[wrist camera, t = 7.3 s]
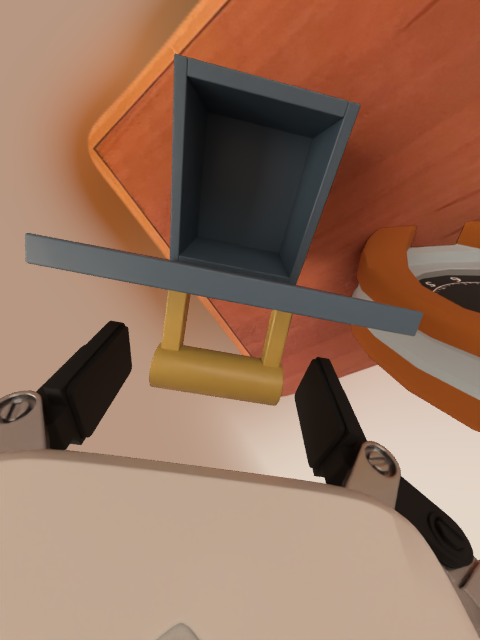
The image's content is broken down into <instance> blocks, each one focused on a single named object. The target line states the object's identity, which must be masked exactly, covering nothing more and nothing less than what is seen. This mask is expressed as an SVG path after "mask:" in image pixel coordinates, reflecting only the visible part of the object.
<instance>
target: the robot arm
mask: <svg viewBox="0 0 480 640" xmlns="http://www.w3.org/2000/svg"><path fill="white" fill-rule="evenodd" d="M131 369H132V362H131V352H130V342H129V332H128V327H126V326H125V324H124V323H121V322H115V321H109V322H108V323H107V324H106V325H105V326H104V327H103V328H102V329H101V330H100V331H99V332H98V333H97V334H96V335H95V336H94V337H93V338H92V339H91V340H90V341H89V342H88V343H87V344H86V345H84V346H82V347H81V348H80V349H79V350H78V351H77V352H76V353H75V354H74V355H73V356H72V357H71V358H70V359H69V360H68V361H67V362H66V363H65V364H64V365H63V366H62V367H61V368H60V369H59V370H58V371H57V372H56V373H55V374H54V375H53V376H52V377H51V378H50V379H49V380H48V381H47V382H46V383H45V384H44V385H43V386H42V387H41V388H39V389H38V391H37V392H34V391H19V392H15V393H12V394H9V395H6V396H4V397H2V398H1V399H0V640H480V560H477V559H476V558H475V557H474V556H473V550H472V547H471V545H470V543H469V540H468V539H467V537H466V536H465V534H464V532H463V531H462V530H461V528H460V527H459V526H458V525H457V524H456V523H455V522H454V521H453V520H452V519H451V518H450V517H449V516H448V515H447V514H446V513H445V512H443V511H442V510H441V509H440V508H439V507H437V506H436V505H435V504H434V503H433V502H431V501H430V500H429V499H428V498H426V497H425V496H424V495H423V494H422V493H421V492H419V491H418V490H417V489H416V488H415V487H413V486H412V485H411V484H410V483H408V482H407V481H406V480H405V479H404V478H403V477H401V472H400V471H401V470H400V467H399V464H398V462H397V461H396V459H395V457H394V456H393V455H392V454H391V453H390V452H389V451H388V450H387V449H386V448H385V447H383V446H382V445H380V444H378V443H376V442H372V441H367V440H366V438H365V435H364V433H363V431H362V429H361V427H360V425H359V422H358V420H357V418H356V416H355V414H354V411H353V409H352V407H351V405H350V403H349V401H348V398H347V396H346V394H345V392H344V390H343V388H342V386H341V384H340V382H339V379H338V377H337V375H336V373H335V371H334V368H333V366H332V364H331V362H330V360H329V359H326V358H320V357H317V358H316V359H313V360H312V361H311V363H310V365H309V367H308V369H307V371H306V373H305V375H304V377H303V379H302V381H301V383H300V385H299V387H298V389H297V391H296V393H295V402H296V407H297V412H298V416H299V421H300V426H301V430H302V435H303V440H304V445H305V449H306V454H307V459H308V463H309V466H310V467H311V468H313V473H314V476H319V477H325V480H326V484H323V483H316V482H310V481H304V480H297V479H291V478H283V477H276V476H269V475H261V474H254V473H247V472H239V471H231V470H224V469H216V468H209V467H201V466H193V465H185V464H178V463H170V462H162V461H154V460H146V459H137V458H130V457H122V456H114V455H106V454H97V453H86V452H78V451H69V450H66V449H67V447H68V446H69V444H77V445H81V444H82V443H83V441H84V440H85V438H86V437H90V436H91V435H92V433H93V432H94V430H95V429H96V427H97V425H98V424H99V422H100V421H101V419H102V417H103V416H104V414H105V413H106V411H107V409H108V408H109V406H110V405H111V403H112V401H113V400H114V398H115V396H116V395H117V393H118V392H119V390H120V388H121V387H122V385H123V383H124V382H125V380H126V379H127V377H128V376H129V374H130V372H131Z"/></svg>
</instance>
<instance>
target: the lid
mask: <svg viewBox="0 0 480 640" xmlns="http://www.w3.org/2000/svg"><path fill="white" fill-rule="evenodd" d="M25 251H26V262H27V263H30V264H36V265H40V266H45V267H51V268H56V269H61V270H66V271H72V272H77V273H82V274H87V275H93V276H98V277H103V278H108V279H114V280H119V281H124V282H129V283H135V284H140V285H146V286H151V287H156V288H161V289H166V290H168V298H167V306H166V314H165V322H164V330H163V337H162V342H161V343H160V344H159V346H158V347H157V349H156V351H155V354H154V357H153V360H152V363H151V368H150V375H149V382H150V386H152V387H158V388H164V389H170V390H176V391H183V392H190V393H197V394H202V395H209V396H215V397H222V398H228V399H234V400H241V401H248V402H253V403H260V404H267V405H277V403H278V402H279V399H280V397H281V393H282V388H283V368H282V364H281V363H280V362H281V358H282V354H283V350H284V346H285V342H286V338H287V334H288V330H289V326H290V322H291V318H292V314H298V315H303V316H308V317H314V318H319V319H324V320H330V321H335V322H340V323H345V324H351V325H356V326H361V327H366V328H372V329H377V330H382V331H387V332H393V333H398V334H403V335H409V336H415V335H416V332H417V329H418V327H419V324H420V322H421V319H422V316H423V312H421V311H416V310H411V309H407V308H402V307H397V306H392V305H388V304H383V303H378V302H373V301H369V300H364V299H359V298H355V297H350V296H345V295H340V294H336V293H331V292H326V291H322V290H317V289H312V288H307V287H303V286H298V285H293V284H288V283H283V282H278V281H273V280H268V279H263V278H258V277H253V276H248V275H243V274H238V273H233V272H228V271H223V270H218V269H213V268H208V267H203V266H198V265H193V264H188V263H183V262H178V261H173V260H168V259H163V258H158V257H152V256H147V255H142V254H136V253H131V252H126V251H120V250H115V249H110V248H104V247H99V246H94V245H89V244H83V243H78V242H72V241H67V240H62V239H57V238H52V237H46V236H41V235H36V234H30V233H26V235H25ZM190 294H193V295H198V296H203V297H208V298H214V299H219V300H224V301H230V302H235V303H240V304H245V305H251V306H256V307H261V308H266V309H272V312H271V316H270V321H269V325H268V329H267V334H266V338H265V342H264V347H263V351H262V355H261V359H260V358H255V357H249V356H243V355H237V354H231V353H225V352H220V351H213V350H208V349H202V348H196V347H190V346H185V345H183V341H184V334H185V327H186V321H187V314H188V307H189V300H190Z"/></svg>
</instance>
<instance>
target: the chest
mask: <svg viewBox="0 0 480 640" xmlns="http://www.w3.org/2000/svg"><path fill="white" fill-rule="evenodd" d="M359 109H360V104H358V103H354V102H349V101H347V100H343V99H340V98H336V97H332V96H329V95H325V94H321V93H318V92H314V91H310V90H307V89H303V88H299V87H296V86H292V85H288V84H285V83H281V82H277V81H274V80H270V79H266V78H263V77H259V76H255V75H251V74H248V73H244V72H240V71H237V70H233V69H229V68H226V67H222V66H218V65H215V64H211V63H207V62H204V61H200V60H196V59H193V58H187V57H185V56H181V55H178V54H175V55H174V95H173V140H172V185H171V231H170V260H173V261H178V262H183V263H188V264H193V265H198V266H203V267H208V268H213V269H218V270H223V271H228V272H233V273H238V274H243V275H248V276H253V277H258V278H263V279H268V280H273V281H278V282H283V283H288V284H293V285H296V283H297V280H298V278H299V275H300V272H301V269H302V267H303V264H304V261H305V258H306V255H307V253H308V250H309V247H310V244H311V242H312V239H313V236H314V233H315V231H316V228H317V225H318V222H319V219H320V217H321V214H322V211H323V208H324V206H325V203H326V200H327V197H328V195H329V192H330V189H331V186H332V184H333V181H334V178H335V175H336V172H337V170H338V167H339V164H340V161H341V159H342V156H343V153H344V150H345V148H346V145H347V142H348V139H349V136H350V134H351V131H352V128H353V125H354V123H355V120H356V117H357V114H358V112H359Z"/></svg>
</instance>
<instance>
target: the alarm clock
mask: <svg viewBox="0 0 480 640" xmlns="http://www.w3.org/2000/svg"><path fill="white" fill-rule="evenodd" d="M416 229H417V226H416V225H412V226H398V227H384V228H381V229H379V230H377V231H376V232H375V233H374V234H373V235H372V236H371V237H370V238H369V239H368V240H367V242H366V243H365V246H364V248H363V251H362V253H361V257H360V261H359V266H358V270H357V275H356V277H357V280H358V282H359V284H358V287H357V288H356V289H355V291H354V293H353V295H352V297H355V298H359V299H364V300H369V301H373V302H378V303H383V304H388V305H392V306H397V307H402V308H407V309H411V310H416V311H421V312H423V316H422V319H421V322H420V324H419V327H418V329H417V332H416V335H415V336H409V335H403V334H398V333H393V332H387V331H382V330H377V329H372V328H366V327H361V326H356V325H351V329H352V333H353V335H354V337H355V338H356V339H357V341H358V342H359V343H360V345H361V346H362V347H363V349H364V350H365V352H366V353H367V354H368V356H369V357H370V358H371V359H372V360H373V361H375V362H376V363H377V364H378V365H379V366H380V367H382V368H383V369H384V370H385V371H386V372H387V373H388V374H390V375H391V376H392V377H393V378H394V379H395V380H396V381H398V382H399V383H400V384H401V385H402V386H403V387H405V388H406V389H407V390H408V391H410V392H411V393H413V394H415V395H417V396H418V397H420V398H421V399H423V400H425V401H427V402H428V403H430V404H431V405H433V406H435V407H436V408H438V409H440V410H441V411H443V412H445V413H447V414H448V415H450V416H452V417H453V418H455V419H456V420H458V421H460V422H461V423H463V424H465V425H466V426H468V427H470V428H471V429H473V430H476V431H478V432H480V221H469V222H466V223H465V225H464V228H463V230H462V232H461V234H460V237H459V239H458V241H457V243H456V244H455V245H446V246H430V247H415V248H411V244H412V241H413V238H414V235H415V232H416Z"/></svg>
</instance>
